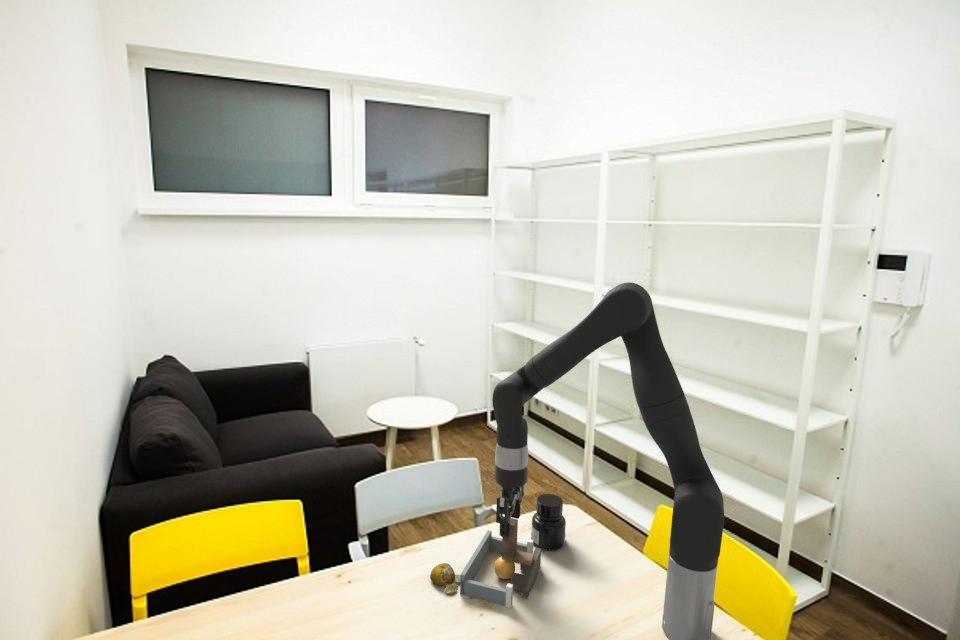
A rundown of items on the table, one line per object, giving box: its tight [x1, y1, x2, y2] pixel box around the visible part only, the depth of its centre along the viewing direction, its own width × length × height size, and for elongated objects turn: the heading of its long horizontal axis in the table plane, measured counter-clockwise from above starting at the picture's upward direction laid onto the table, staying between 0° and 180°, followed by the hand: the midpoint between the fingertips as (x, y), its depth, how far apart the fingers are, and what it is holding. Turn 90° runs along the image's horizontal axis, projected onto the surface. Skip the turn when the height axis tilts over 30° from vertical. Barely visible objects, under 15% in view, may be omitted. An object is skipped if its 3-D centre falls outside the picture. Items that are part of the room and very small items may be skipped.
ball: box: [493, 556, 516, 580], centre depth 129 cm, size 5×5×5 cm
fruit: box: [429, 562, 460, 596], centre depth 127 cm, size 8×8×4 cm
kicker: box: [501, 517, 542, 600], centre depth 127 cm, size 8×12×14 cm, turn 160°
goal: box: [459, 529, 534, 609], centre depth 129 cm, size 12×19×5 cm, turn 160°
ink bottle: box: [530, 493, 567, 552], centre depth 143 cm, size 10×9×12 cm
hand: (510, 526), depth 126 cm, fingers open, 8 cm apart
